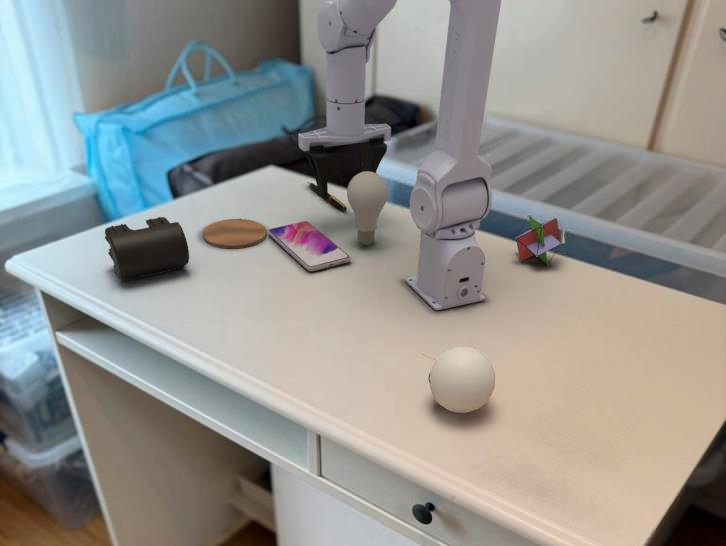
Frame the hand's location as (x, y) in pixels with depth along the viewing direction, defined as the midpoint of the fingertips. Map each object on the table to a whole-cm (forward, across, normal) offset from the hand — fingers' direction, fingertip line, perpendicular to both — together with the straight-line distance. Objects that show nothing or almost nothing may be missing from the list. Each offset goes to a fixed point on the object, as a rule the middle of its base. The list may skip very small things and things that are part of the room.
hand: (344, 191), depth 115 cm
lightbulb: (+5, 0, +8) cm, 10 cm away
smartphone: (+5, +9, +7) cm, 12 cm away
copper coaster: (+5, +18, -2) cm, 19 cm away
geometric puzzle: (+5, -22, +23) cm, 32 cm away
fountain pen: (+5, -1, -11) cm, 12 cm away
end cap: (+5, +33, +6) cm, 34 cm away
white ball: (+5, +8, +50) cm, 51 cm away
